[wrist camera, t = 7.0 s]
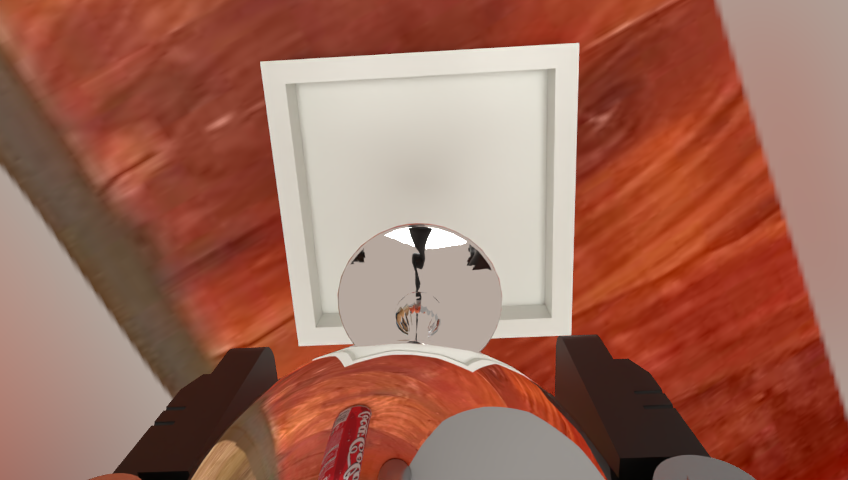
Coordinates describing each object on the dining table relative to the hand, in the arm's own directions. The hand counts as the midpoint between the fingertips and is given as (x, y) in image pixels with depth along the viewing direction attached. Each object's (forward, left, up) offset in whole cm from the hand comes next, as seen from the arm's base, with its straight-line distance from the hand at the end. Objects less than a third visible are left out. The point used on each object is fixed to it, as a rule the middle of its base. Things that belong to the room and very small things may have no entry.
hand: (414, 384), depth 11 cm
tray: (0, 0, -18) cm, 18 cm away
